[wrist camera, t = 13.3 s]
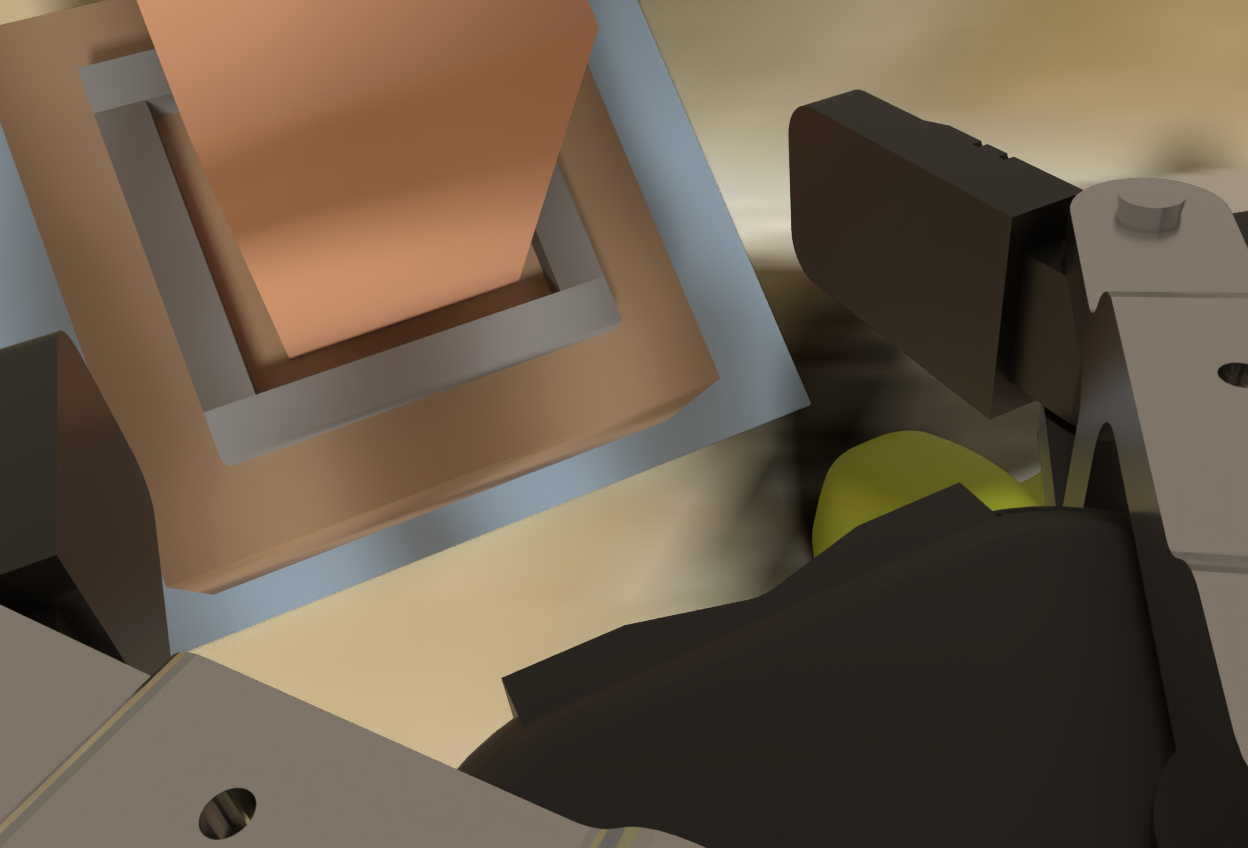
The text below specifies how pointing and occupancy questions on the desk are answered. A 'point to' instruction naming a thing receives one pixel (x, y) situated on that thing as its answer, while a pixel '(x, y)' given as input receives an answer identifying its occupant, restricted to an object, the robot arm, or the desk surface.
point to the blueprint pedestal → (380, 360)
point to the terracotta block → (374, 144)
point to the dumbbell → (908, 481)
